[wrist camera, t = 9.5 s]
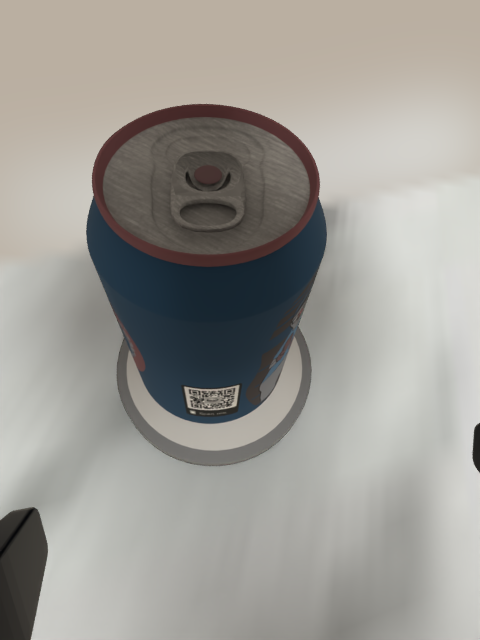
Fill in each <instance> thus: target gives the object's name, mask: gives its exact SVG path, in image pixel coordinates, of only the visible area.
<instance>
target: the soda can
mask: <svg viewBox="0 0 480 640" xmlns="http://www.w3.org/2000/svg"><path fill="white" fill-rule="evenodd" d="M319 180H320V179H319V173H318V169H317V166H316V163H315V160H314V158H313V157H312V155H311V153H310V152H309V150H308V148H307V147H306V146H305V145H304V143H302V141H301V140H300V139H299V138H298V137H297V136H296V135H294V134H293V133H292V132H291V131H290V130H288V129H287V128H285V127H284V126H282V125H281V124H279V123H277V122H276V121H274V120H272V119H270V118H267V117H265V116H262V115H260V114H258V113H255V112H252V111H248V110H245V109H240V108H236V107H231V106H224V105H213V104H192V105H182V106H176V107H170V108H166V109H162V110H158V111H155V112H152V113H149V114H147V115H144V116H142V117H140V118H138V119H136V120H134V121H132V122H130V123H129V124H127V125H126V126H124V127H122V128H121V129H119V130H118V131H117V132H116V133H114V134H113V135H112V136H111V137H110V138H109V139H108V140H107V141H106V142H105V144H104V145H103V147H102V148H101V149H100V151H99V153H98V155H97V158H96V160H95V163H94V167H93V173H92V187H93V193H94V196H93V200H92V203H91V206H90V210H89V215H88V220H87V230H86V234H87V244H88V249H89V252H90V256H91V258H92V261H93V263H94V265H95V268H96V270H97V273H98V275H99V277H100V280H101V282H102V285H103V287H104V289H105V292H106V294H107V297H108V299H109V301H110V304H111V306H112V309H113V311H114V313H115V316H116V318H117V321H118V323H119V325H120V328H121V330H122V333H123V335H124V337H125V340H126V342H127V345H128V347H129V349H130V352H131V354H132V357H133V359H134V362H135V364H136V366H137V369H138V371H139V374H140V376H141V378H142V381H143V383H144V385H145V387H146V389H147V391H148V392H149V394H150V395H151V396H152V398H153V399H154V400H155V401H156V402H157V403H158V404H159V405H160V406H161V407H162V408H164V409H165V410H166V411H168V412H169V413H171V414H173V415H175V416H177V417H179V418H181V419H184V420H187V421H191V422H195V423H202V424H218V423H225V422H229V421H233V420H236V419H238V418H241V417H243V416H245V415H247V414H249V413H251V412H252V411H254V410H255V409H256V408H258V407H259V406H260V405H261V404H262V403H263V402H264V401H265V400H266V399H267V398H268V397H269V396H270V394H271V393H272V391H273V390H274V388H275V386H276V384H277V382H278V380H279V377H280V375H281V372H282V369H283V366H284V363H285V361H286V358H287V355H288V352H289V350H290V347H291V344H292V341H293V338H294V336H295V333H296V330H297V327H298V325H299V322H300V319H301V316H302V313H303V311H304V308H305V305H306V302H307V300H308V297H309V294H310V291H311V288H312V286H313V283H314V280H315V277H316V275H317V272H318V269H319V266H320V263H321V261H322V258H323V255H324V251H325V247H326V238H327V230H326V222H325V217H324V213H323V209H322V206H321V203H320V200H319V197H318V196H319V188H320V181H319Z"/></svg>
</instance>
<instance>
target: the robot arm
mask: <svg viewBox="0 0 480 640" xmlns="http://www.w3.org/2000/svg"><path fill="white" fill-rule="evenodd" d="M473 462H474V465H475V467H476V468H477V470H478V471H479V472H480V423H479V424H477V425H476V427H475V429H474V440H473ZM47 555H48V545H47V540H46V536H45V533H44V529H43V525H42V521H41V518H40V514H39V512H38V510H37V509H36V508H34V507H30V508H25V509H20V510H15V511H12V512H10V513H9V514H7V515H6V516H5V517H4V518H2V519H1V520H0V640H31V636H32V631H33V626H34V621H35V616H36V611H37V606H38V601H39V596H40V591H41V586H42V581H43V576H44V571H45V566H46V561H47Z"/></svg>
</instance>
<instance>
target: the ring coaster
mask: <svg viewBox="0 0 480 640" xmlns="http://www.w3.org/2000/svg"><path fill="white" fill-rule="evenodd" d="M117 383H118V390H119V394H120V397H121V401H122V403H123V405H124V408H125V410H126V412H127V414H128V415H129V417H130V419H131V420H132V422H133V424H134V425H135V427H136V428H137V429H138V431H139V432H140V433H141V434H142V435H143V437H144V438H145V439H146V440H148V441H149V442H150V443H151V444H152V445H153V446H154V447H156V448H157V449H159V450H160V451H162V452H163V453H165V454H167V455H169V456H171V457H173V458H175V459H178V460H181V461H184V462H187V463H190V464H196V465H203V466H223V465H231V464H235V463H239V462H243V461H246V460H249V459H251V458H253V457H256V456H258V455H260V454H261V453H263V452H265V451H267V450H268V449H270V448H271V447H272V446H274V445H275V444H276V443H277V442H279V441H280V440H281V439H282V438H283V436H284V435H285V434H286V433H287V432H288V431H289V430H290V428H291V427H292V425H293V424H294V423H295V421H296V420H297V418H298V416H299V414H300V412H301V411H302V409H303V407H304V405H305V402H306V399H307V396H308V393H309V388H310V383H311V360H310V355H309V350H308V347H307V344H306V341H305V339H304V336H303V335H302V333H301V331H300V329H299V327H297V330H296V333H295V336H294V338H293V341H292V344H291V347H290V350H289V352H288V355H287V358H286V361H285V363H284V366H283V369H282V372H281V375H280V377H279V380H278V382H277V384H276V386H275V388H274V390H273V391H272V393H271V394H270V396H269V397H268V398H267V399H266V400H265V401H264V402H263V403H262V404H261V405H260V406H259V407H258V408H256V409H255V410H254V411H252V412H251V413H249V414H247V415H245V416H243V417H241V418H238V419H236V420H233V421H229V422H225V423H218V424H202V423H195V422H191V421H187V420H184V419H181V418H179V417H177V416H175V415H173V414H171V413H169V412H168V411H166V410H165V409H164V408H162V407H161V406H160V405H159V404H158V403H157V402H156V401H155V400H154V399H153V398H152V396H151V395H150V394H149V392H148V391H147V389H146V387H145V385H144V383H143V381H142V378H141V376H140V374H139V371H138V369H137V366H136V364H135V362H134V359H133V357H132V354H131V352H130V349H129V347H128V345H127V342H126V340H125V338H124V340H123V343H122V346H121V349H120V352H119V357H118V362H117Z"/></svg>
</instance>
